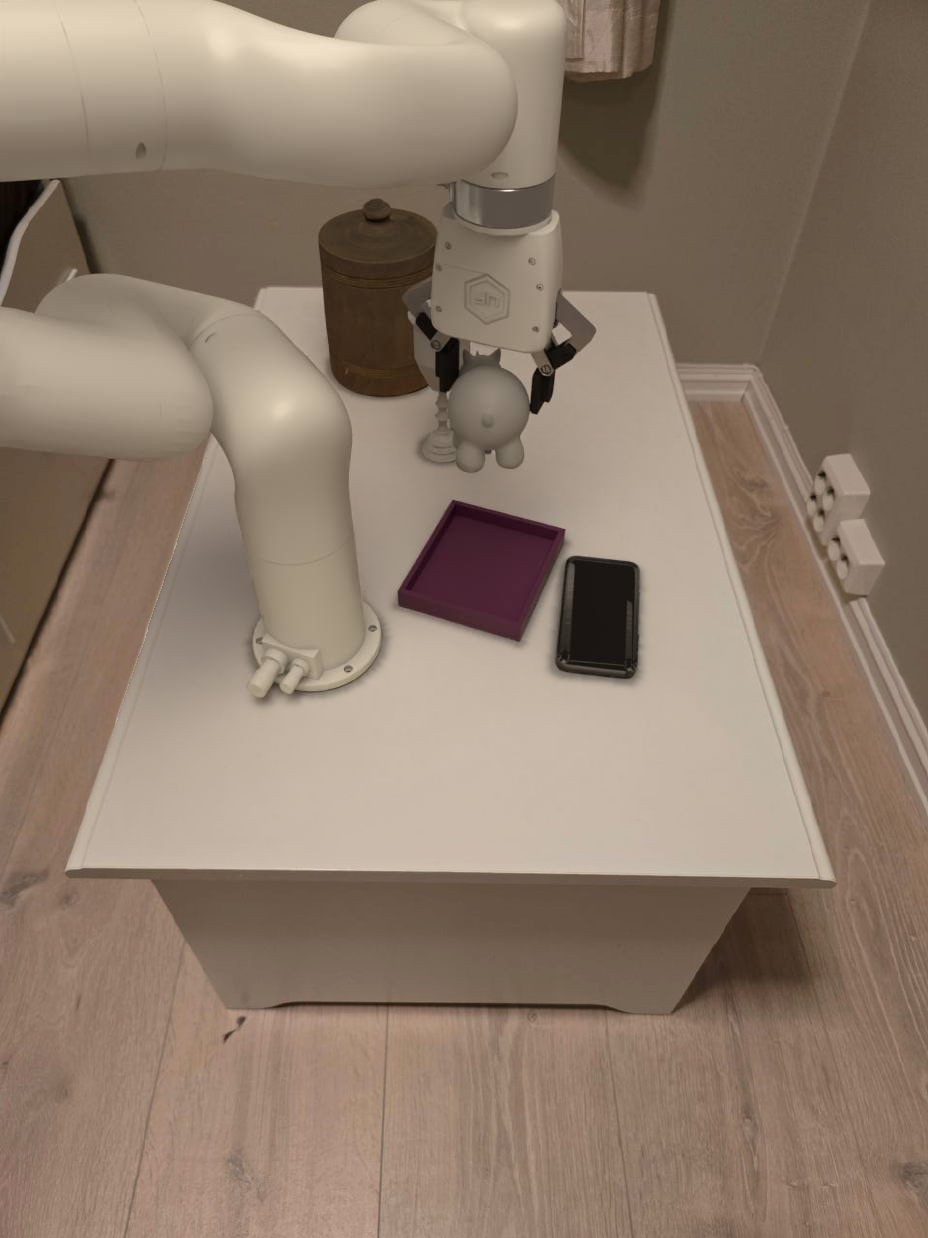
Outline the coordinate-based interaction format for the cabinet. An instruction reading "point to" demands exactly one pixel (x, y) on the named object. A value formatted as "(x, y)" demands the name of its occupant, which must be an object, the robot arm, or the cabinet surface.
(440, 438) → the chalice
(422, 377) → the wooden container
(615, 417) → the cabinet surface
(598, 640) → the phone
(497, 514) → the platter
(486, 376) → the chubby cartoon animal
